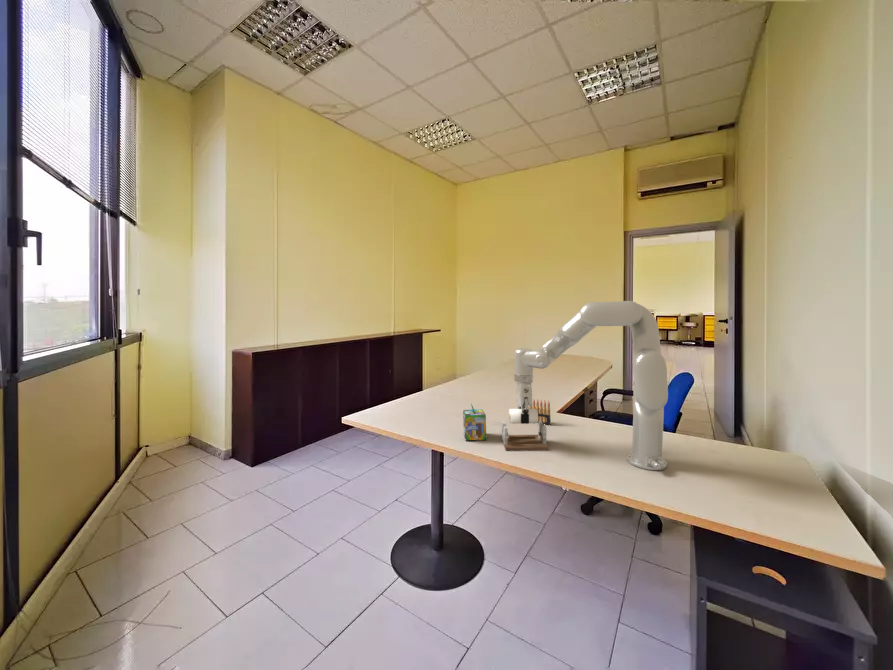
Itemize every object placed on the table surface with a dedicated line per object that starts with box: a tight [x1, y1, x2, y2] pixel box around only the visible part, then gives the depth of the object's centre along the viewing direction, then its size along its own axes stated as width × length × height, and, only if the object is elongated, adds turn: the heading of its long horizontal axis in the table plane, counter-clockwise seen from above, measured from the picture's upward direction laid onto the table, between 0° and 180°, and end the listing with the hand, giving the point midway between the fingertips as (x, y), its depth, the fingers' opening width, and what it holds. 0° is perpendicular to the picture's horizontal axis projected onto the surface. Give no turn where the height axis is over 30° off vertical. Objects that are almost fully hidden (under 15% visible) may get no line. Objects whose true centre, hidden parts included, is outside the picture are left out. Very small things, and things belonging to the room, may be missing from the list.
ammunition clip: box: [528, 398, 551, 426], centre depth 172 cm, size 11×2×12 cm, turn 62°
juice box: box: [462, 403, 487, 441], centre depth 155 cm, size 9×9×15 cm
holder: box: [500, 421, 549, 452], centre depth 147 cm, size 14×17×8 cm
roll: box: [508, 408, 538, 425], centre depth 146 cm, size 6×11×6 cm, turn 89°
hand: (523, 420), depth 146 cm, fingers closed on roll, 6 cm apart
